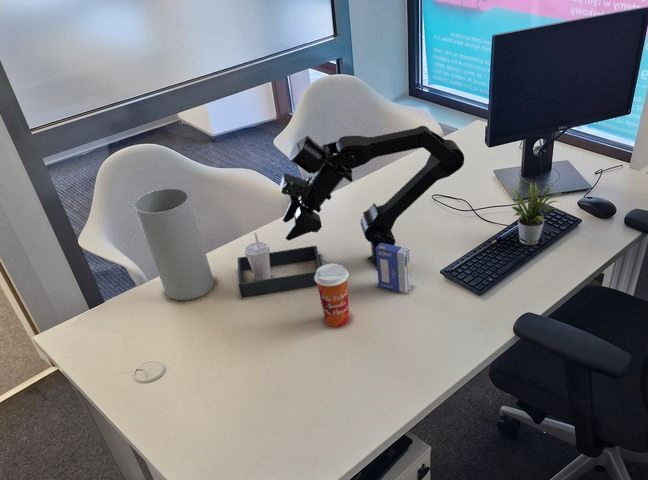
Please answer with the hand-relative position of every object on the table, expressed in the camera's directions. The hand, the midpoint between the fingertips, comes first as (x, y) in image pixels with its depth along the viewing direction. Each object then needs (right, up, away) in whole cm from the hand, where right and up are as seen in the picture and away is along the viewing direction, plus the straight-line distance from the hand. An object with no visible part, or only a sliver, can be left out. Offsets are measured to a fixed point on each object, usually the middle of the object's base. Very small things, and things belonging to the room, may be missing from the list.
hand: (285, 230), depth 155 cm
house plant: (+66, 0, +16) cm, 68 cm away
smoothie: (-7, -12, +8) cm, 16 cm away
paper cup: (+14, -23, -7) cm, 28 cm away
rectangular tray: (-3, -11, +8) cm, 14 cm away
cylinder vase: (-26, -14, +7) cm, 30 cm away
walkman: (+27, -14, +3) cm, 31 cm away
